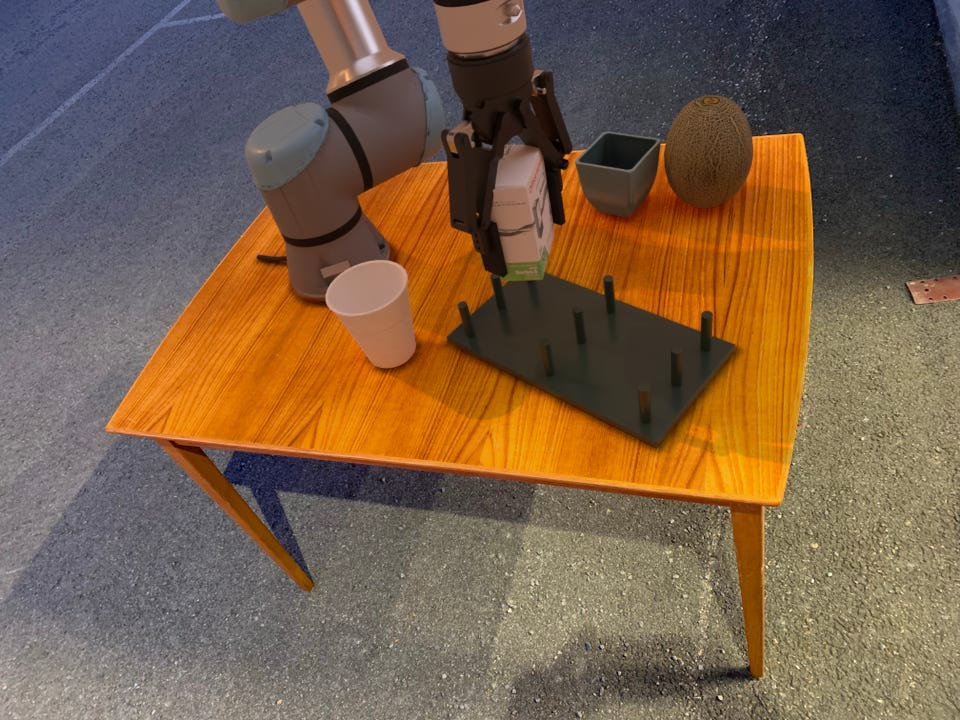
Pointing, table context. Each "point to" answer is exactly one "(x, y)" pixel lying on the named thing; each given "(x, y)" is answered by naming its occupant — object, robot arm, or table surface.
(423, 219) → the table surface
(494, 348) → the dish rack
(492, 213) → the ink box
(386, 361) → the cup
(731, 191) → the fruit
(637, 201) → the flower pot
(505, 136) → the robot arm
